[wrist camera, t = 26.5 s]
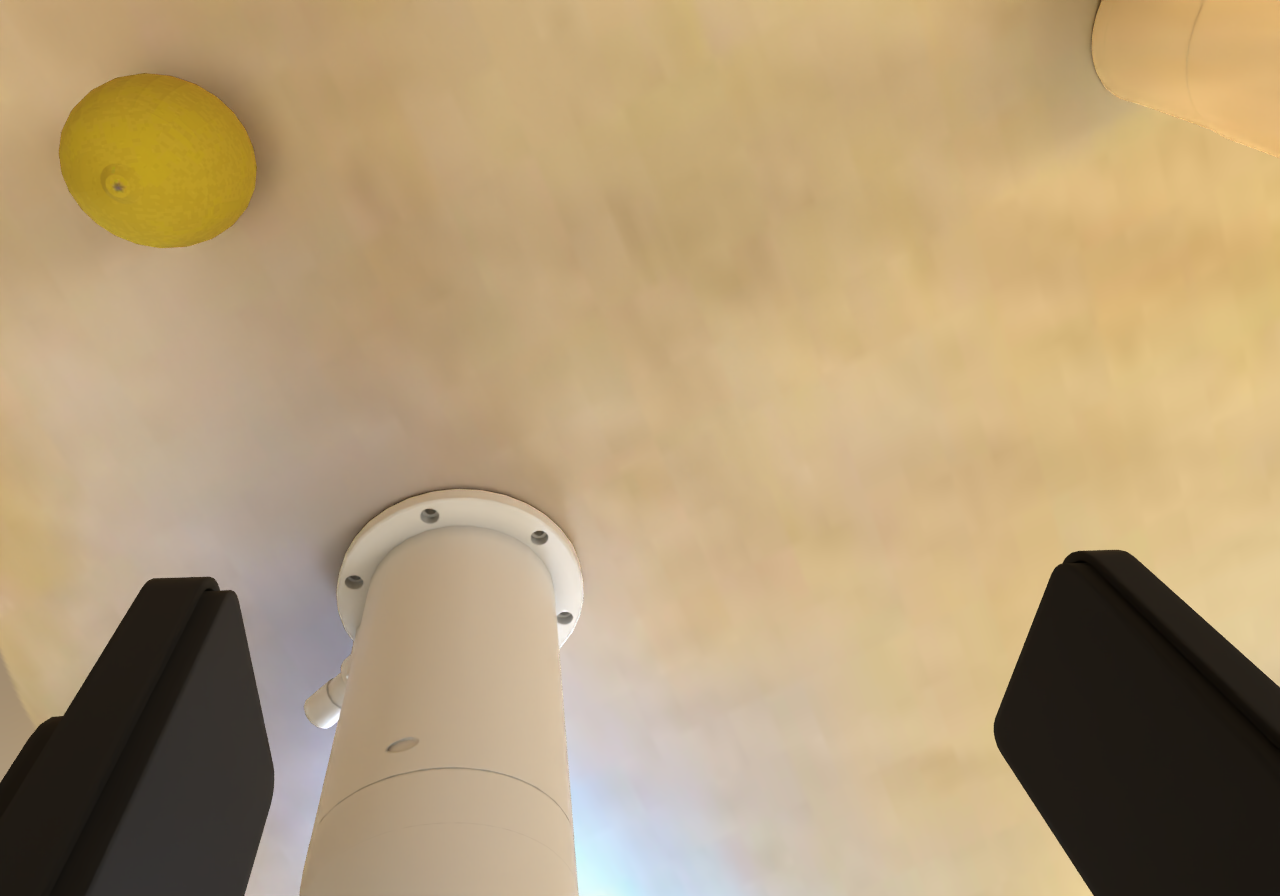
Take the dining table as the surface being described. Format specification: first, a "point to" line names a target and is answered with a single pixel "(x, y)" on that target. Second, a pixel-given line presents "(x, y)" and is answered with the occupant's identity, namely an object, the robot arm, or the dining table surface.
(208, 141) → the lemon
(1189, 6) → the metal cup with straw
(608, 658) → the dining table surface
